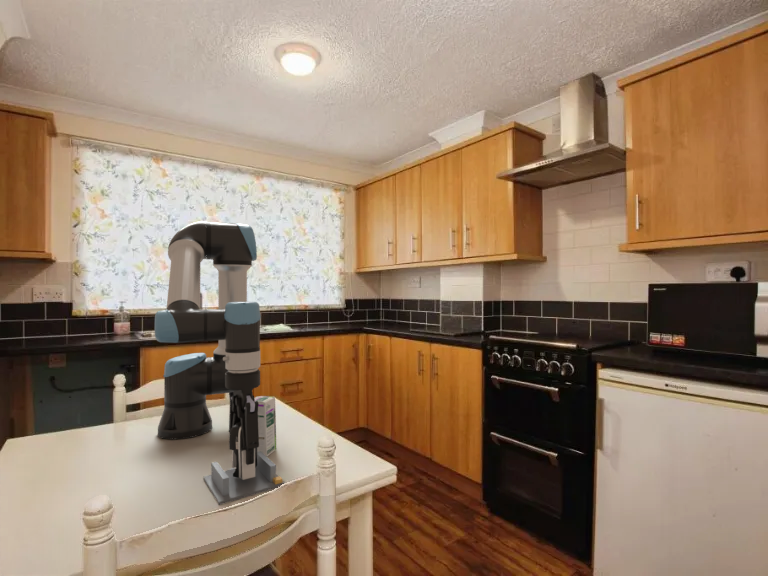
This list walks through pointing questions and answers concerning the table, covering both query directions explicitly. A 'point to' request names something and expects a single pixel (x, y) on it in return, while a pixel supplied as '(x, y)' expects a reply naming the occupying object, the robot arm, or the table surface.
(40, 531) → the table surface
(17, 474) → the table surface
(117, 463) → the table surface
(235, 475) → the battery
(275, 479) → the dock
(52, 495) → the table surface
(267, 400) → the syrup box
